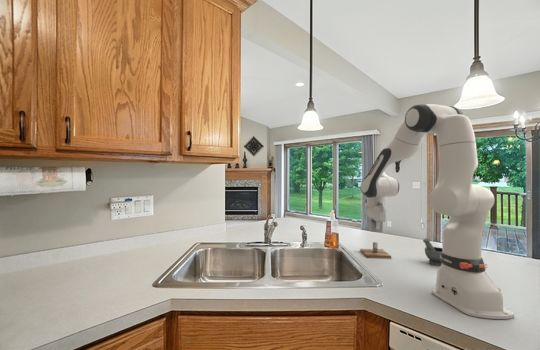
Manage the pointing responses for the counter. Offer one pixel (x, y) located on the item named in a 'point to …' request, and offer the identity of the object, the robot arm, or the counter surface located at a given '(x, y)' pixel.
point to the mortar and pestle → (432, 253)
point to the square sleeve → (372, 226)
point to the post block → (375, 252)
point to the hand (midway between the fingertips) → (375, 227)
